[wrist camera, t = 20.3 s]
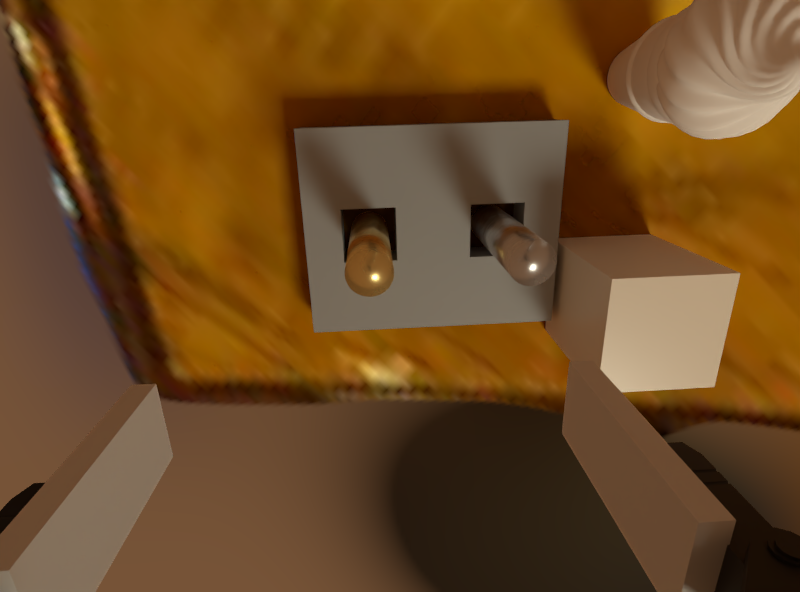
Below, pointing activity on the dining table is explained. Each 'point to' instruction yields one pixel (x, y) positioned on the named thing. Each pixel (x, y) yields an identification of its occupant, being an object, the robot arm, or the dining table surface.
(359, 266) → the brass pin
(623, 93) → the soft serve ice cream cone
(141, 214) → the dining table surface
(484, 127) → the socket board
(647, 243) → the block
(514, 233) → the steel pin
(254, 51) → the dining table surface
